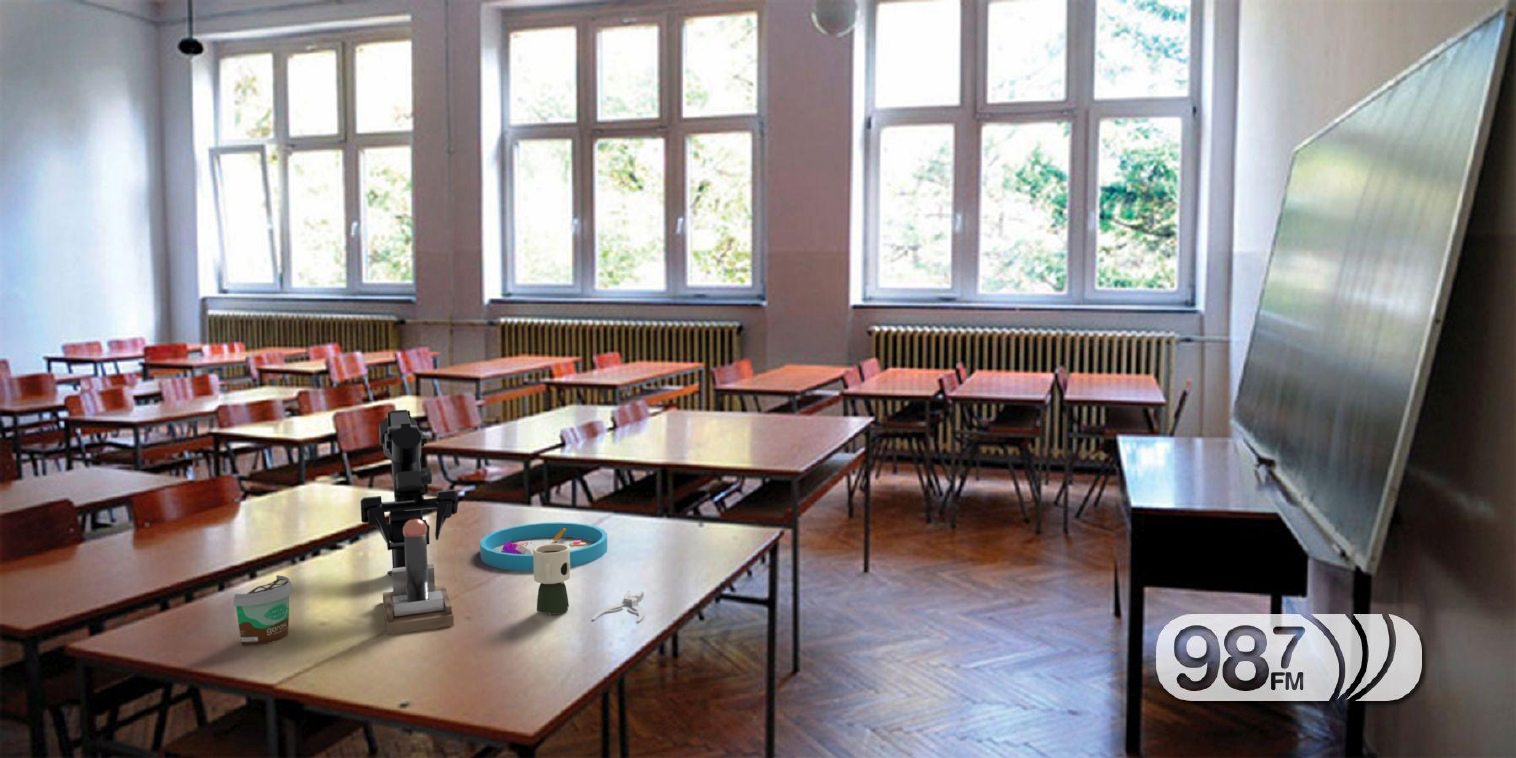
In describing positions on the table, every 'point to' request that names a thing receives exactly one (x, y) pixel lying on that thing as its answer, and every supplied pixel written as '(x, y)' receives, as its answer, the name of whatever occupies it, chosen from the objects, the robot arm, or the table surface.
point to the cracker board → (420, 619)
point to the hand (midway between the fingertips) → (413, 541)
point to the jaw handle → (416, 574)
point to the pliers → (627, 601)
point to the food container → (264, 612)
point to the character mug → (552, 577)
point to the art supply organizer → (522, 557)
